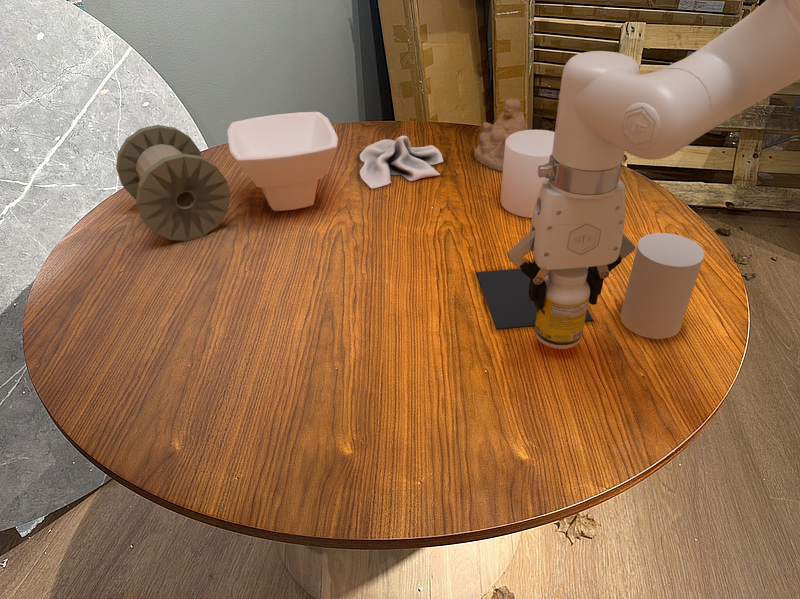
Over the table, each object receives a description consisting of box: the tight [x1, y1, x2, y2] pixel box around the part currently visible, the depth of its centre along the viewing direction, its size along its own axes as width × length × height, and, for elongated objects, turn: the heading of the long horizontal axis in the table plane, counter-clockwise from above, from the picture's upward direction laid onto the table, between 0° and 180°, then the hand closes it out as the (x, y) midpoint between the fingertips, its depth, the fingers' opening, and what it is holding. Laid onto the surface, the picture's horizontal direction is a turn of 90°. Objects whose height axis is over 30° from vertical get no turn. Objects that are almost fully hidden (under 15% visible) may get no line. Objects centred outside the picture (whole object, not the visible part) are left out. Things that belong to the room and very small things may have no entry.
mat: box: [475, 268, 594, 330], centre depth 93 cm, size 14×14×1 cm
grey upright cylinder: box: [620, 232, 705, 340], centre depth 84 cm, size 8×8×12 cm
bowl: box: [226, 111, 339, 212], centre depth 114 cm, size 19×19×14 cm
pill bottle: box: [534, 267, 590, 350], centre depth 79 cm, size 6×6×11 cm
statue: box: [473, 97, 527, 172], centre depth 129 cm, size 12×14×10 cm
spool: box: [115, 124, 231, 242], centre depth 110 cm, size 16×15×15 cm
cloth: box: [359, 135, 444, 190], centre depth 128 cm, size 22×19×6 cm
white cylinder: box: [500, 129, 555, 219], centre depth 112 cm, size 12×12×12 cm
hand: (563, 299), depth 79 cm, fingers closed on pill bottle, 6 cm apart
